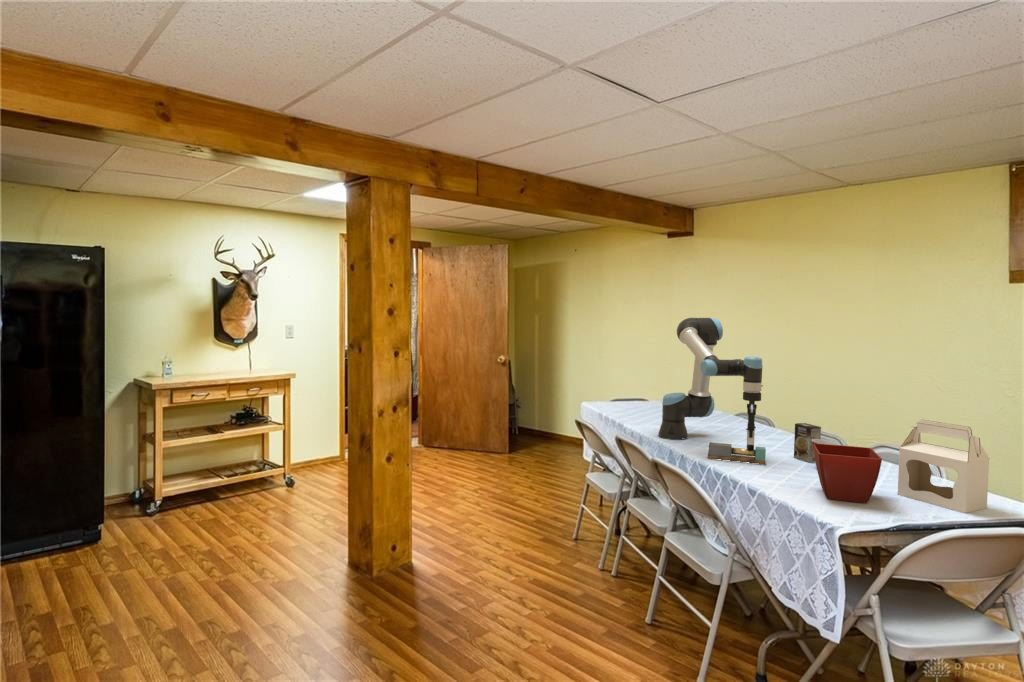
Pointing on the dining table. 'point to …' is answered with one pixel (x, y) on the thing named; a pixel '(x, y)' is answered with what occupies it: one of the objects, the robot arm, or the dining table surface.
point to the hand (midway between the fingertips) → (750, 443)
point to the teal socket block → (760, 453)
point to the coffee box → (805, 441)
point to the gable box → (967, 464)
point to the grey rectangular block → (720, 449)
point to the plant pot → (847, 471)
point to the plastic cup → (823, 442)
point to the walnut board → (737, 458)
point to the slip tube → (746, 452)
